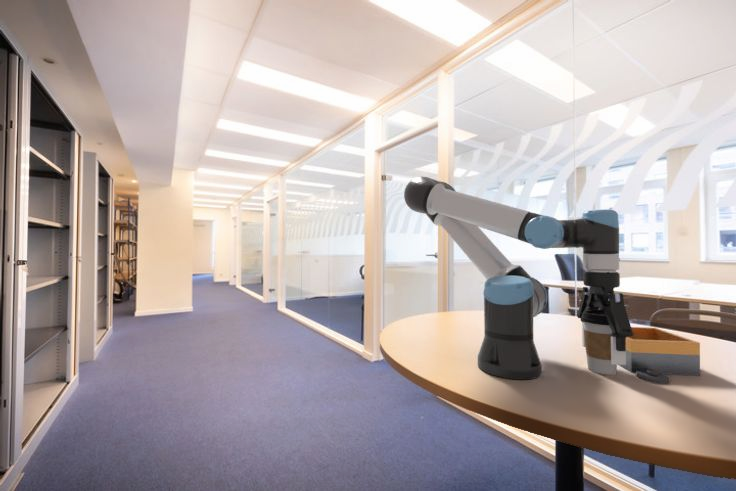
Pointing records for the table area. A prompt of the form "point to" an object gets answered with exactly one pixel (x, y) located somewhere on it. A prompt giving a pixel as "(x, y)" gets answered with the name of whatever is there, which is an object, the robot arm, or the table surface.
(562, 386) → the table surface
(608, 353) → the coffee cup
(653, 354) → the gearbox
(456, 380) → the table surface
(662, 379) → the disc
